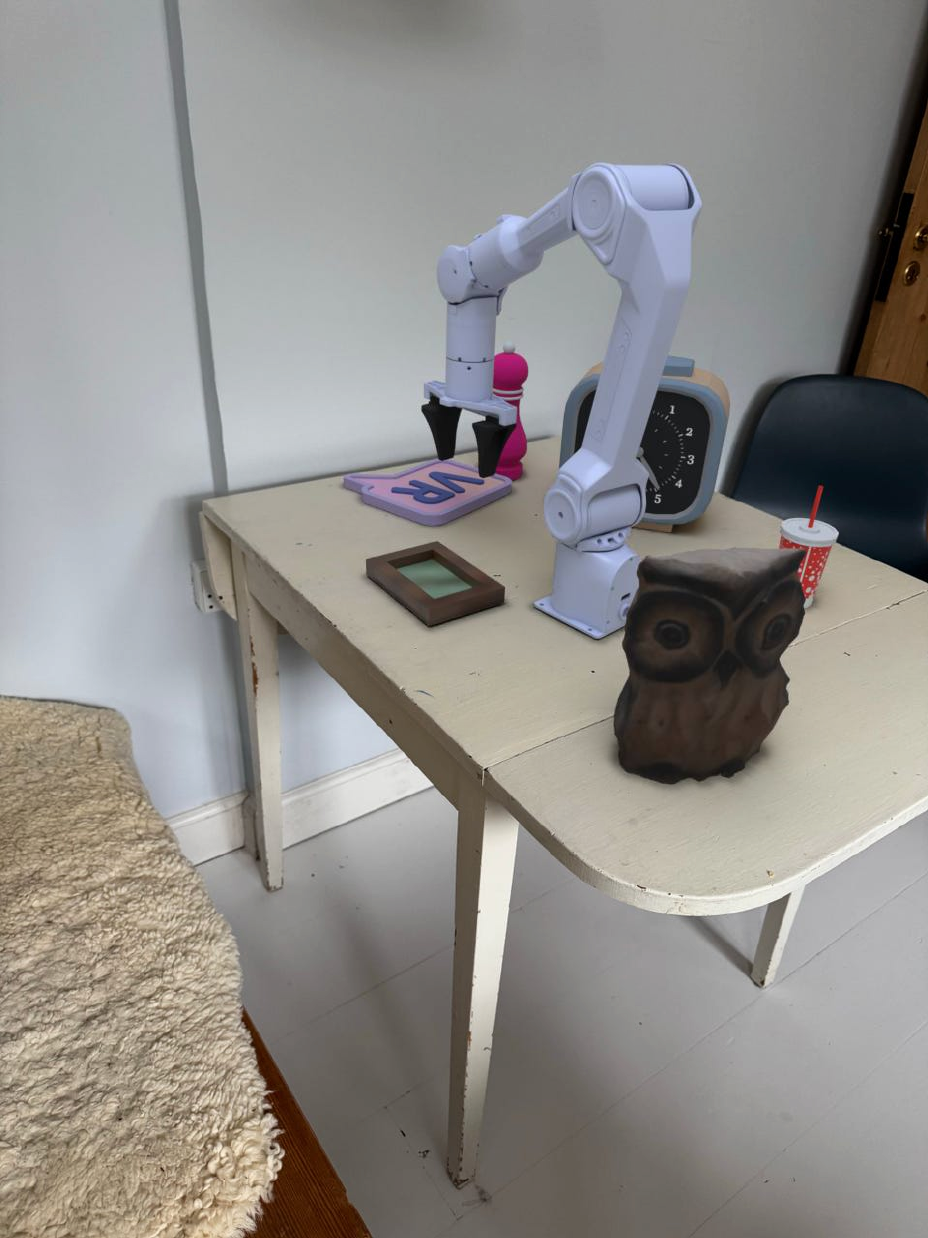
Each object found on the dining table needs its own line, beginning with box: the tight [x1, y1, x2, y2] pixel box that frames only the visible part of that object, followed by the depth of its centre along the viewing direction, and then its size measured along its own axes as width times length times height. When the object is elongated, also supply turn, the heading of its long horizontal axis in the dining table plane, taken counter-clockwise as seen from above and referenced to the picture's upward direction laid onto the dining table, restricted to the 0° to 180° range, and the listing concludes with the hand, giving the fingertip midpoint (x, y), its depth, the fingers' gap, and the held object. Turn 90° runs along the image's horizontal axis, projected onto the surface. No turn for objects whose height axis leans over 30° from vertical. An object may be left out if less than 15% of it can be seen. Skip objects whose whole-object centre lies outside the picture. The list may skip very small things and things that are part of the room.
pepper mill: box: [493, 341, 529, 481], centre depth 125 cm, size 7×7×20 cm
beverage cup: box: [778, 485, 840, 609], centre depth 94 cm, size 6×6×14 cm
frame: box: [365, 540, 506, 627], centre depth 96 cm, size 14×10×2 cm
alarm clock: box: [558, 354, 731, 533], centre depth 112 cm, size 21×10×22 cm, turn 72°
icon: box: [343, 458, 513, 527], centre depth 123 cm, size 19×2×20 cm
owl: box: [613, 546, 807, 785], centre depth 68 cm, size 13×13×20 cm
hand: (466, 467), depth 106 cm, fingers open, 7 cm apart
